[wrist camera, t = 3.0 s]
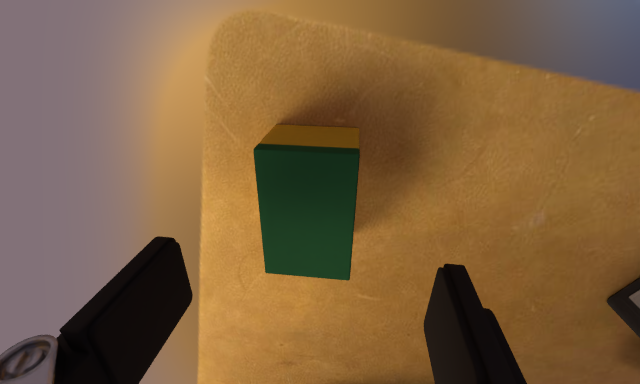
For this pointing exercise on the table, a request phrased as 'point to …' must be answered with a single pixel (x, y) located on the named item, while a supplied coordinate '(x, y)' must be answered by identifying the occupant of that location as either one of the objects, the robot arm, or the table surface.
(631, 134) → the table surface
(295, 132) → the sponge
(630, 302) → the camera
